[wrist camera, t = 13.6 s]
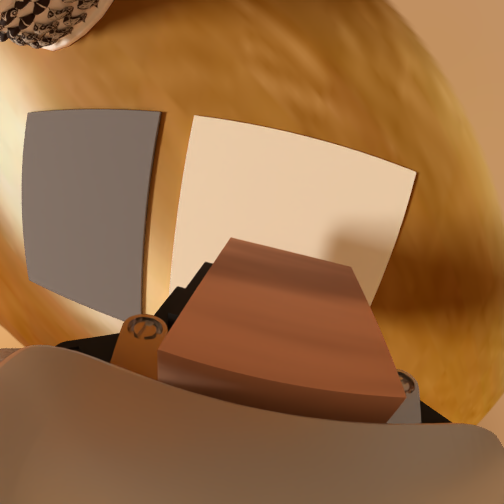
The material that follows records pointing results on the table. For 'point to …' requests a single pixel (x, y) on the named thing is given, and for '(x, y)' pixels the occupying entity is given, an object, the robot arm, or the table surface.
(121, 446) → the robot arm
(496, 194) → the table surface
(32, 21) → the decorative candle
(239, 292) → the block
